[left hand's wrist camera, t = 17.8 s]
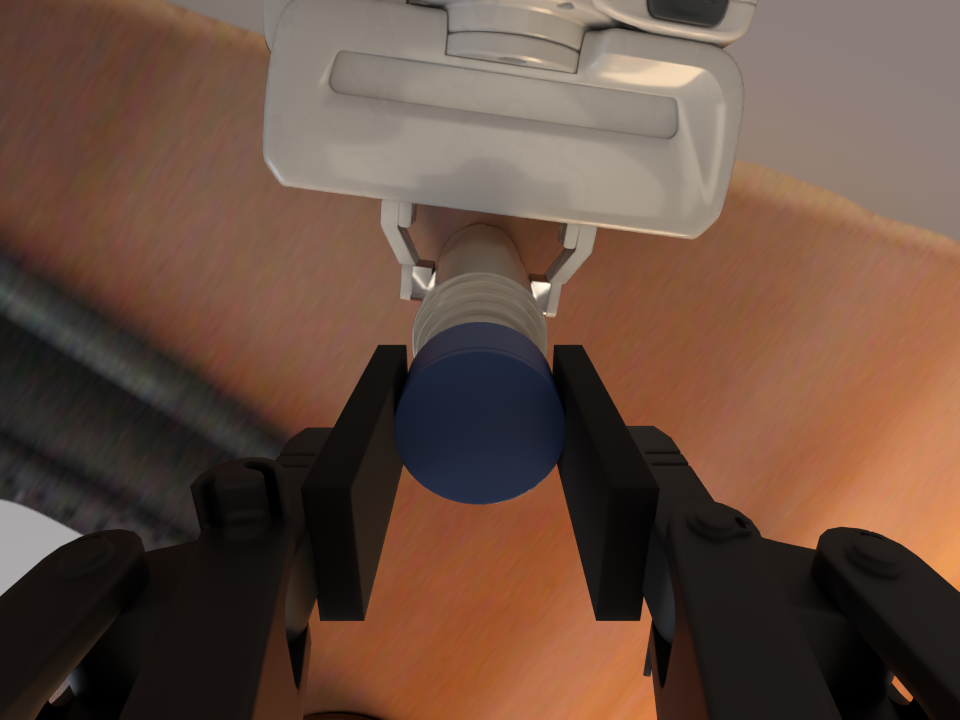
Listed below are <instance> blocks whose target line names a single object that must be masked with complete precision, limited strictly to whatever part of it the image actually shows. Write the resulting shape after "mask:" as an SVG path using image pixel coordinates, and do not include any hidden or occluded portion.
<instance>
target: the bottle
mask: <svg viewBox="0 0 960 720" xmlns="http://www.w3.org/2000/svg"><path fill="white" fill-rule="evenodd" d="M470 322H490V323H497V324H500V325H504V326H507V327H510V328H512V329H514V330H516V331H518V332H520V333H522V334H523V335H525V336H526V337H527V338H529V339H530V340H531V341H532V342H533V343H534V344H535V345H536V346H537V347H538V348H539V349H540V351H541V352H542V353H543V355H544V356H545V358H546V356H547V348H548V331H547V324H546V320H545V317H544V314H543V311H542V309H541V306H540V304H539V301H538V299H537V296H536V294H535V292H534V289H533V287H532V284H531V282H530V279H529V277H528V274H527V272H526V269H525V267H524V264H523V262H522V260H521V257H520V255H519V252H518V250H517V248H516V246H515V244H514V242H513V241H512V239H511V238H510V237H509V236H508V235H507V234H506V233H505V232H503V231H502V230H500V229H498V228H496V227H494V226H490V225H485V224H475V225H470V226H467V227H464V228H462V229H460V230H458V231H457V232H456V233H454V234H453V235H452V236H451V237H450V239H449V240H448V241H447V243H446V244H445V246H444V248H443V251H442V253H441V256H440V258H439V260H438V263H437V265H436V268H435V270H434V273H433V275H432V278H431V280H430V282H429V285H428V287H427V290H426V292H425V295H424V297H423V300H422V302H421V304H420V307H419V309H418V312H417V314H416V317H415V320H414V324H413V332H412V345H413V355H414V358H415V356H416V355H417V353H418V352H419V351H420V349H421V348H422V347H423V346H424V345H425V344H426V343H427V342H428V341H429V340H430V339H431V338H433V337H434V336H435V335H437V334H438V333H440V332H442V331H444V330H446V329H448V328H450V327H453V326H456V325H459V324H464V323H470Z"/></svg>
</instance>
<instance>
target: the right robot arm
mask: <svg viewBox="0 0 960 720" xmlns="http://www.w3.org/2000/svg"><path fill="white" fill-rule="evenodd" d="M409 3H410V4H409ZM756 5H757V0H263V16H264V34H265V40H266V44H267V47H268V49H269V51H270V53H271V56H270V62H269V69H268V76H267V85H266V94H265V105H264V121H263V158H264V161H265V163H266V165H267V166H268V168H269V169H270V170H271V172H272V173H273V175H274V176H275V178H276V179H277V180H278V181H279V183H280V184H282V185H283V186H287V187H294V188H302V189H309V190H317V191H324V192H332V193H340V194H347V195H355V196H363V197H370V198H378V199H382V205H381V223H380V225H381V227H382V229H383V231H384V233H385V235H386V237H387V239H388V241H389V243H390V245H391V248H392V250H393V252H394V254H395V256H396V258H397V260H398V262H399V264H402V272H401V287H400V298H401V299H406V300H416V301H422V300H423V297H424V295H425V292H426V290H427V287H428V285H429V282H430V280H431V278H432V275H433V273H434V270H435V261H428V260H421V259H420V258H419V256H418V253H417V251H416V249H415V247H414V244H413V242H412V240H411V238H410V235H409V233H408V231H407V228H409V227H410V226H411V225H412V224H413V223H414V222H415V221H416V214H417V204H424V205H431V206H439V207H447V208H454V209H462V210H470V211H477V212H485V213H493V214H500V215H508V216H516V217H523V218H531V219H538V220H546V221H554V222H560V226H559V233H558V241H559V242H560V243H561V244H562V245H563V246H564V247H565V249H564V250H563V251H562V252H561V254H560V255H559V256H558V257H557V259H556V260H555V261H554V263H553V264H552V265H551V266H550V268H549V269H548V270H547V272H546V273H545V275H540V274H530V273H529V276H528V277H529V279H530V282H531V284H532V287H533V289H534V292H535V294H536V296H537V299H538V301H539V304H540V306H541V309H542V311H543V314H544V316H545V317H553V318H554V317H555V315H556V313H557V308H558V303H559V297H560V292H561V287H562V284H565V283H566V282H567V281H568V280H569V279H570V277H571V276H572V275H573V274H574V273H575V272H576V270H577V269H578V268H579V267H580V266H581V265H582V264H583V262H584V261H585V260H586V259H587V258H588V257H589V255H590V254H591V253H592V250H593V245H594V241H595V236H596V231H597V227H600V228H607V229H615V230H623V231H630V232H638V233H646V234H653V235H661V236H668V237H676V238H684V239H695V238H697V237H699V236H700V235H701V234H702V233H704V232H705V231H706V230H707V229H708V228H709V227H710V226H711V225H712V224H713V223H714V222H716V220H717V219H718V217H719V215H720V213H721V211H722V208H723V205H724V202H725V198H726V194H727V191H728V187H729V183H730V179H731V175H732V171H733V166H734V161H735V157H736V151H737V146H738V141H739V135H740V129H741V122H742V115H743V108H744V84H743V78H742V74H741V71H740V69H739V67H738V65H737V63H736V61H735V60H734V59H733V57H732V56H731V55H729V54H728V53H727V52H726V51H725V50H723V48H725V47H726V46H728V45H730V44H731V43H733V42H734V41H736V40H737V39H738V38H740V37H741V36H742V35H743V34H744V33H745V32H746V31H747V29H748V27H749V25H750V23H751V21H752V18H753V15H754V12H755V9H756Z"/></svg>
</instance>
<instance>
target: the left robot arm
mask: <svg viewBox="0 0 960 720" xmlns="http://www.w3.org/2000/svg"><path fill="white" fill-rule="evenodd" d="M407 375H408V367H407V349H406V345H378V347H377V349H376V350H375V352H374V354H373V356H372V358H371V360H370V361H369V363H368V365H367V367H366V369H365V371H364V372H363V374H362V376H361V378H360V380H359V382H358V383H357V385H356V387H355V389H354V391H353V393H352V395H351V396H350V398H349V400H348V402H347V404H346V406H345V407H344V409H343V411H342V413H341V415H340V417H339V418H338V420H337V422H336V424H335V426H334V428H306V429H304V430H303V431H301V432H300V433H298V434H297V435H295V436H294V437H293V438H291V439H290V440H289V441H288V443H287V444H286V446H285V447H284V448H283V450H282V451H281V453H280V456H278V457H277V459H276V460H271V459H267V458H243V459H237V460H232V461H228V462H226V463H223V464H220V465H218V466H215V467H213V468H211V469H209V470H208V471H206V472H205V473H203V474H202V475H200V476H199V477H198V478H197V479H196V480H195V481H194V482H193V483H192V485H191V486H190V487H191V492H192V496H193V500H194V504H195V508H196V512H197V516H198V521H199V525H200V529H201V533H200V535H199V538H198V540H195V541H192V542H188V543H185V544H180V545H176V546H171V547H166V548H161V549H157V550H152V551H147V552H145V549H144V546H143V543H142V539H141V538H140V537H139V536H138V535H137V534H136V533H135V532H133V531H127V530H122V529H116V530H106V531H100V532H95V533H92V534H88V535H85V536H82V537H79V538H77V539H75V540H74V541H71V542H69V543H67V544H65V545H63V546H61V547H59V548H58V549H56V550H55V551H54V552H52V553H51V554H49V555H48V556H46V557H45V558H44V559H42V560H41V561H40V562H39V563H38V564H37V565H36V566H34V567H33V568H32V569H31V570H30V571H29V572H28V573H26V574H25V575H24V576H23V577H22V578H21V579H20V580H18V581H17V582H16V583H15V584H14V585H13V586H12V587H10V588H9V589H8V590H7V591H6V592H5V593H4V594H2V595H1V596H0V720H373V719H370V718H366V717H362V716H357V715H350V714H319V715H312V716H308V717H304V718H303V713H304V704H305V695H306V686H307V677H308V668H309V659H310V650H311V637H310V630H309V623H308V620H309V617H310V615H311V612H312V609H313V607H314V604H315V601H316V598H317V602H318V608H319V615H320V621H364V619H365V615H366V611H367V607H368V603H369V599H370V595H371V591H372V587H373V583H374V579H375V575H376V571H377V567H378V563H379V559H380V555H381V551H382V547H383V543H384V539H385V535H386V531H387V527H388V523H389V519H390V515H391V511H392V507H393V503H394V499H395V495H396V491H397V488H398V484H399V480H400V476H401V472H402V468H403V462H402V460H401V458H400V456H399V454H398V451H397V447H396V433H395V412H396V408H397V404H398V402H399V398H400V395H401V392H402V390H403V387H404V384H405V381H406V378H407ZM552 375H553V378H554V381H555V384H556V387H557V390H558V393H559V396H560V399H561V402H562V405H563V408H564V412H565V417H566V423H565V438H564V448H563V450H562V453H561V456H560V458H559V460H558V461H557V466H558V470H559V474H560V478H561V482H562V486H563V490H564V494H565V498H566V502H567V506H568V510H569V514H570V518H571V522H572V526H573V530H574V534H575V538H576V542H577V546H578V550H579V554H580V558H581V562H582V566H583V570H584V574H585V578H586V582H587V586H588V590H589V594H590V598H591V602H592V606H593V610H594V614H595V618H596V621H640V617H641V611H642V604H643V597H644V598H645V600H646V603H647V606H648V608H649V611H650V614H651V616H652V623H651V630H650V636H649V642H648V648H647V654H646V661H645V667H644V675H643V676H649V677H650V676H651V670H652V676H653V685H654V694H655V703H656V712H657V720H960V592H959V591H957V590H956V589H955V588H954V587H953V586H952V585H951V584H949V583H948V582H947V581H946V580H945V579H944V578H942V577H941V576H940V575H939V574H938V573H937V572H936V571H934V570H933V569H932V568H931V567H930V566H929V565H928V564H926V563H925V562H924V561H923V560H922V559H921V558H919V557H918V556H917V555H915V554H914V553H913V552H911V551H910V550H908V549H907V548H905V547H904V546H903V545H901V544H899V543H897V542H895V541H893V540H891V539H889V538H886V537H885V536H883V535H881V534H878V533H875V532H870V531H868V530H863V529H858V528H848V527H838V528H832V529H827V530H826V531H825V532H824V533H823V534H822V535H821V536H820V537H819V541H818V544H817V548H816V550H814V549H810V548H805V547H800V546H795V545H791V544H786V543H781V542H777V541H773V540H769V539H766V538H762V537H761V534H760V532H759V530H758V529H757V528H756V526H755V525H754V524H753V522H752V521H751V520H750V519H749V518H747V517H746V516H745V515H743V514H742V513H741V512H739V511H738V510H736V509H733V508H731V507H729V506H726V505H724V504H722V503H718V502H715V501H714V500H713V498H712V497H711V496H710V494H709V493H708V491H707V490H706V488H705V487H704V485H703V484H702V482H701V481H700V479H699V478H698V477H697V475H696V474H695V472H694V471H693V469H692V468H691V466H688V462H687V460H686V459H685V457H684V456H683V455H682V454H681V453H680V450H679V449H678V447H677V446H676V444H675V443H674V441H673V440H672V438H671V437H669V436H668V435H666V434H665V433H663V432H662V431H660V430H659V429H657V428H656V427H654V426H626V425H625V423H624V421H623V420H622V418H621V416H620V414H619V412H618V410H617V409H616V407H615V405H614V403H613V401H612V399H611V397H610V396H609V394H608V392H607V390H606V388H605V386H604V385H603V383H602V381H601V379H600V377H599V375H598V374H597V372H596V370H595V368H594V366H593V364H592V363H591V361H590V359H589V357H588V355H587V353H586V352H585V350H584V348H583V346H582V345H554V356H553V374H552ZM894 676H896V677H897V678H898V680H899V681H900V682H901V683H902V684H903V685H904V687H905V688H906V689H907V690H908V691H909V693H910V694H911V695H912V696H913V700H912V701H911V702H909V701H908V700H907V699H906V698H905V697H904V696H903V695H902V694H900V692H899V691H898V690H897V689H896V688H895V686H894V685H893V684H892V681H893V678H894ZM66 678H67V680H68V682H69V684H70V685H69V686H68V687H67V689H66V690H65V691H64V692H63V693H62V695H61V696H60V697H59V698H57V699H56V700H55V701H54V702H53V703H52V704H51V703H49V701H48V700H49V698H50V697H51V696H52V695H53V694H54V692H55V691H56V690H57V689H58V688H59V686H60V685H61V684H62V683H63V682H64V680H65V679H66Z"/></svg>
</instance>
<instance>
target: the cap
mask: <svg viewBox="0 0 960 720" xmlns="http://www.w3.org/2000/svg"><path fill="white" fill-rule="evenodd" d="M565 423H566V417H565V412H564V408H563V405H562V402H561V399H560V396H559V393H558V390H557V387H556V384H555V381H554V378H553V375H552V372H551V369H550V367H549V364H548V362H547V360H546V358H545V356H544V355H543V353H542V352H541V351H540V349H539V348H538V347H537V346H536V345H535V344H534V343H533V342H532V341H531V340H530V339H529V338H527V337H526V336H525V335H523V334H522V333H520V332H518V331H516V330H514V329H512V328H510V327H507V326H504V325H500V324H497V323H490V322H470V323H464V324H459V325H456V326H453V327H450V328H448V329H446V330H444V331H442V332H440V333H438V334H437V335H435V336H434V337H433V338H431V339H430V340H429V341H428V342H427V343H426V344H425V345H424V346H423V347H422V348H421V349H420V351H419V352H418V353H417V355H416V356H415V358H414V360H413V362H412V364H411V366H410V369H409V372H408V375H407V378H406V381H405V384H404V387H403V390H402V392H401V395H400V398H399V402H398V404H397V408H396V412H395V433H396V447H397V451H398V454H399V456H400V458H401V460H402V462H403V464H404V465H405V467H406V468H407V470H408V471H409V472H410V474H411V475H412V476H413V477H414V478H415V479H416V480H417V481H418V482H419V483H421V484H422V485H423V486H424V487H426V488H427V489H429V490H430V491H432V492H433V493H435V494H437V495H439V496H441V497H444V498H447V499H449V500H452V501H456V502H461V503H467V504H494V503H499V502H504V501H507V500H510V499H513V498H516V497H518V496H520V495H523V494H525V493H526V492H528V491H530V490H531V489H533V488H534V487H536V486H537V485H538V484H539V483H541V482H542V481H543V480H544V479H545V478H546V477H547V476H548V475H549V473H550V472H551V471H552V469H553V468H554V467H555V465H556V463H557V461H558V460H559V458H560V456H561V453H562V450H563V448H564V438H565Z"/></svg>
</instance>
